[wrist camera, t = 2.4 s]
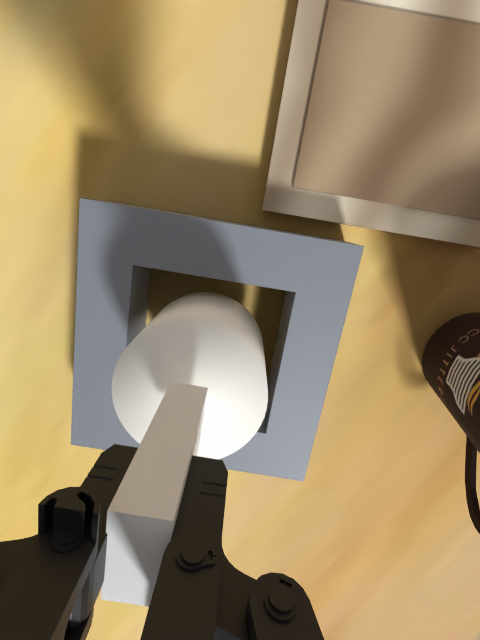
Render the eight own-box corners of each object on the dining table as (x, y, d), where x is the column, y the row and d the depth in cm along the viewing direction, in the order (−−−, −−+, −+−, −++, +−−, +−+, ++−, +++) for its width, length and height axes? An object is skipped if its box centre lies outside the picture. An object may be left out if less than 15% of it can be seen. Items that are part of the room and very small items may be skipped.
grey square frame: (96, 411, 27) (70, 444, 23) (109, 200, 22) (79, 198, 19) (296, 443, 27) (303, 481, 23) (344, 241, 23) (363, 246, 19)
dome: (143, 390, 23) (107, 450, 17) (153, 282, 21) (116, 308, 15) (252, 408, 23) (253, 473, 17) (273, 302, 21) (281, 335, 15)
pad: (261, 210, 22) (262, 209, 21) (302, -25, 19) (306, -44, 18) (481, 247, 23) (497, 249, 21) (559, 22, 19) (584, 7, 18)
